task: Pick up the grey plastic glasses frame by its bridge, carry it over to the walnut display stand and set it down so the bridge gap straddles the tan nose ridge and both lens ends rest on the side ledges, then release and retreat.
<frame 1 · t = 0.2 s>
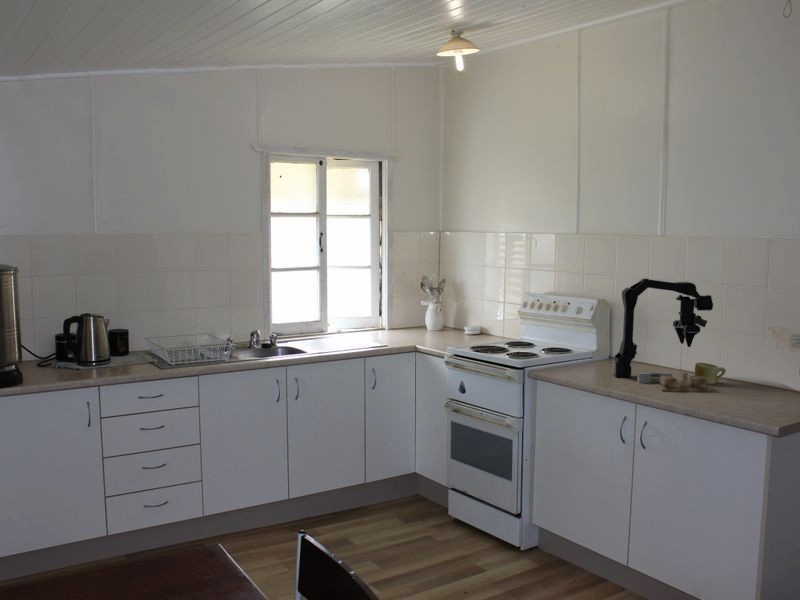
hand: (685, 345, 336), 14 cm above the worktop, fingers open, 9 cm apart
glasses: (654, 382, 327), on the worktop
mug: (709, 383, 325), on the worktop
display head: (683, 389, 313), on the worktop
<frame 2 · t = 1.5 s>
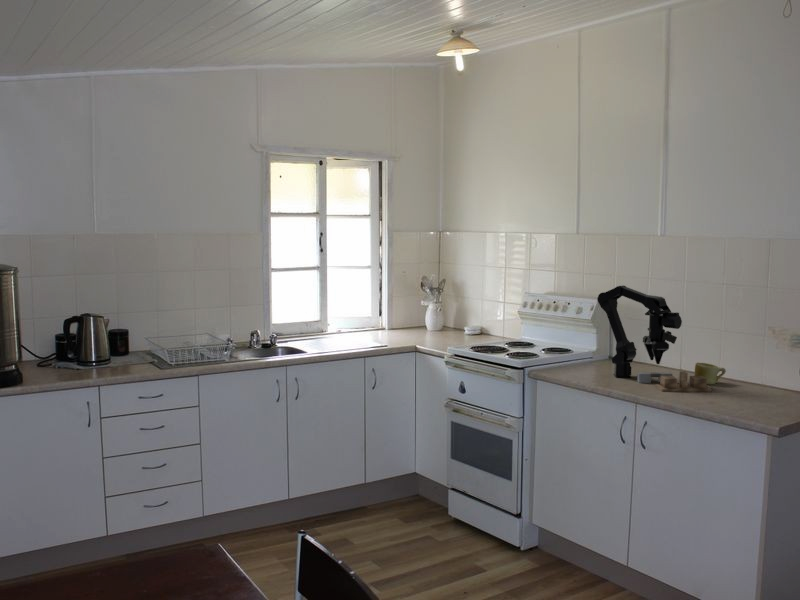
hand: (654, 362, 326), 9 cm above the worktop, fingers open, 9 cm apart
nothing on the worktop moved.
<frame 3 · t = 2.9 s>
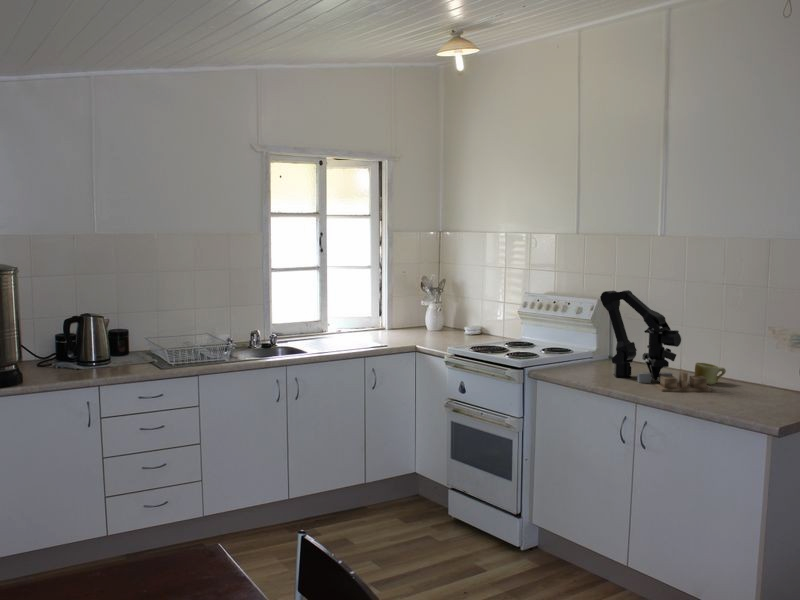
hand: (654, 379, 327), 1 cm above the worktop, fingers closed on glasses, 3 cm apart
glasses: (654, 382, 327), on the worktop, touching gripper
everything else where it was.
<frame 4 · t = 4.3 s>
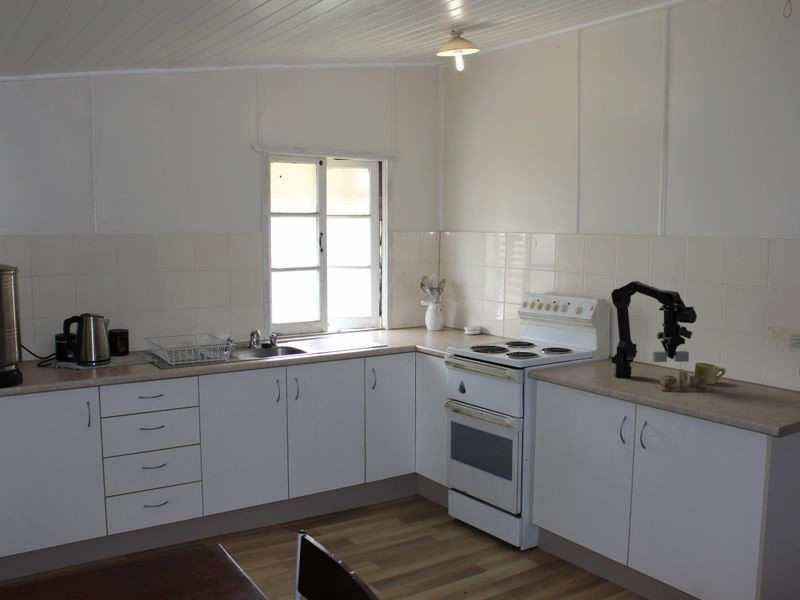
hand: (670, 358, 318), 12 cm above the worktop, fingers closed on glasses, 3 cm apart
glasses: (670, 361, 318), point 11 cm above the worktop, touching gripper
everything else where it was.
when the fingers open (7 cm above the worktop, at t = 5.6 s): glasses drops 1 cm, resting on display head.
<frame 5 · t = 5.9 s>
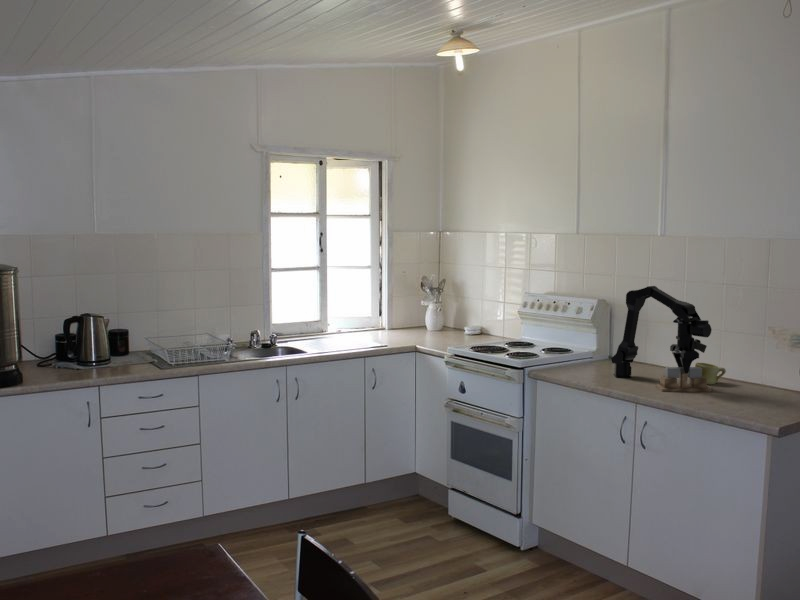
hand: (683, 371, 313), 7 cm above the worktop, fingers open, 7 cm apart
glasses: (683, 377, 313), point 5 cm above the worktop, touching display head
everything else where it was.
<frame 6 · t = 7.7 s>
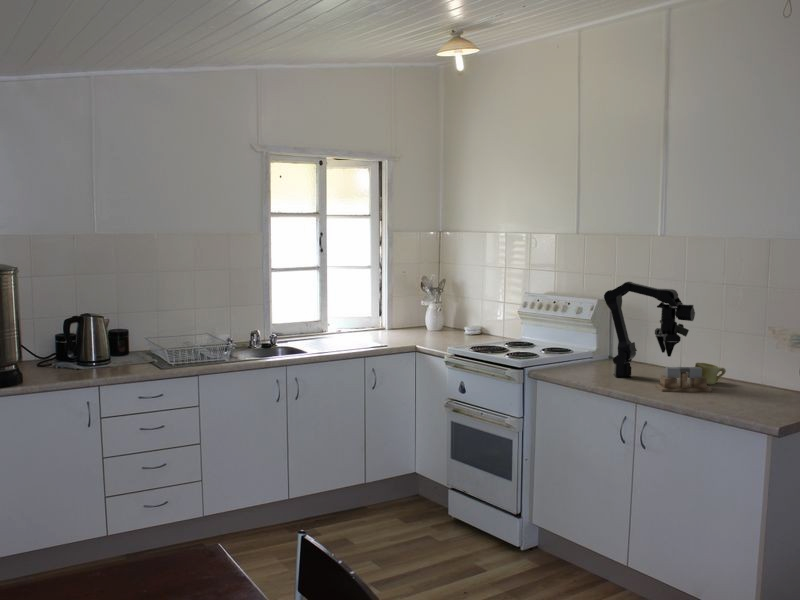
hand: (666, 354, 326), 12 cm above the worktop, fingers open, 9 cm apart
nothing on the worktop moved.
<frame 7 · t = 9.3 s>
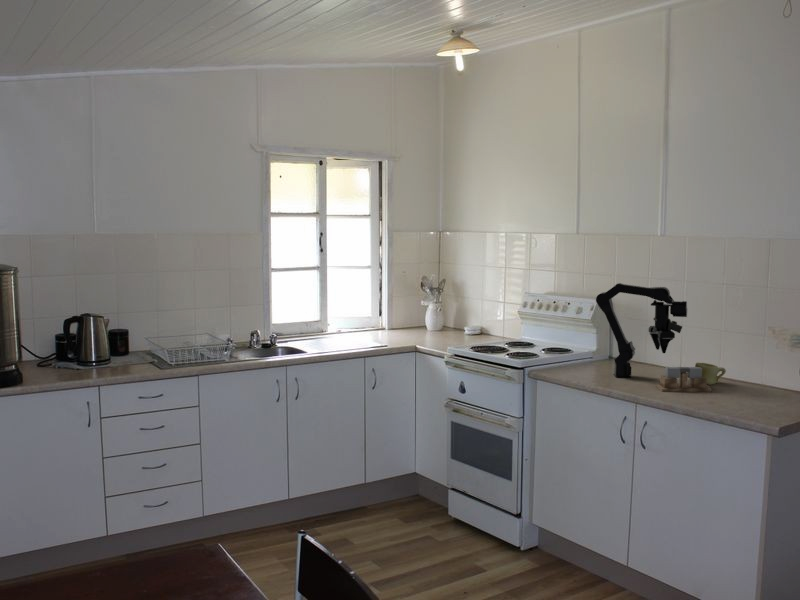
hand: (660, 351, 331), 13 cm above the worktop, fingers open, 9 cm apart
nothing on the worktop moved.
at the end: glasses 0.0 cm off-centre on the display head, point 5.0 cm above the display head's base; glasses tilted 0°; the gripper is holding nothing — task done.
